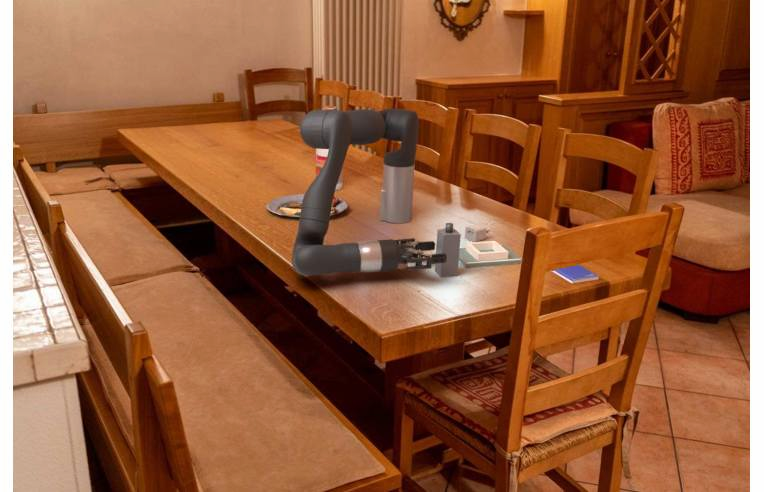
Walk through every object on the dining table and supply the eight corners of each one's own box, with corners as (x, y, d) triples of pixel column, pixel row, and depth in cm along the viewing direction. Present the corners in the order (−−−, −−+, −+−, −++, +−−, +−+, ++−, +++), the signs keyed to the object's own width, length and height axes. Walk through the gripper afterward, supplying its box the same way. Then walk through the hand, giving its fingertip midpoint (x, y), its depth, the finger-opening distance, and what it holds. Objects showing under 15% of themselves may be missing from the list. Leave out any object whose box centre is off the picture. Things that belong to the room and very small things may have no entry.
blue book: (599, 275, 171) (568, 258, 182) (572, 279, 168) (542, 261, 178) (598, 281, 171) (567, 263, 182) (571, 285, 168) (541, 267, 179)
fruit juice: (344, 191, 237) (345, 109, 227) (316, 191, 235) (316, 109, 225) (341, 184, 245) (342, 104, 236) (314, 184, 244) (314, 104, 234)
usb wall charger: (464, 239, 196) (465, 225, 194) (481, 234, 200) (482, 221, 198) (474, 243, 193) (476, 229, 191) (491, 238, 197) (492, 225, 196)
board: (465, 267, 175) (466, 256, 174) (450, 252, 185) (451, 241, 184) (522, 263, 179) (524, 252, 178) (504, 248, 189) (506, 238, 188)
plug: (440, 277, 169) (444, 227, 164) (434, 270, 173) (437, 221, 168) (458, 276, 170) (462, 226, 165) (452, 269, 174) (455, 220, 169)
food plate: (356, 203, 224) (356, 192, 223) (337, 226, 202) (337, 215, 201) (283, 198, 229) (282, 188, 227) (257, 220, 207) (256, 209, 206)
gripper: (384, 252, 157) (451, 247, 161) (369, 231, 170) (431, 227, 174) (383, 282, 160) (449, 276, 164) (368, 259, 172) (429, 255, 176)
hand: (440, 251), depth 169 cm, fingers open, 8 cm apart
